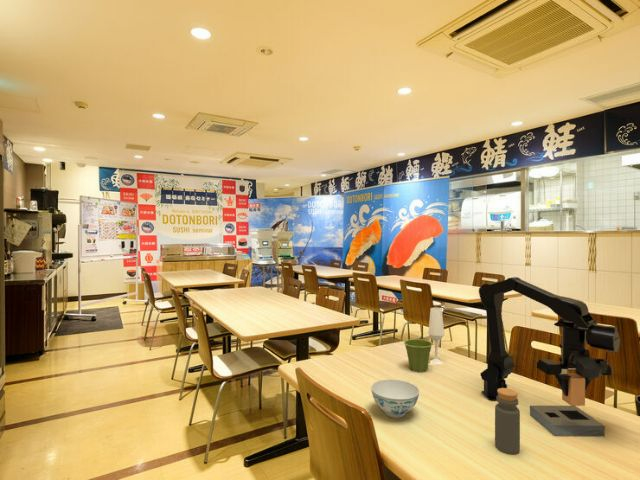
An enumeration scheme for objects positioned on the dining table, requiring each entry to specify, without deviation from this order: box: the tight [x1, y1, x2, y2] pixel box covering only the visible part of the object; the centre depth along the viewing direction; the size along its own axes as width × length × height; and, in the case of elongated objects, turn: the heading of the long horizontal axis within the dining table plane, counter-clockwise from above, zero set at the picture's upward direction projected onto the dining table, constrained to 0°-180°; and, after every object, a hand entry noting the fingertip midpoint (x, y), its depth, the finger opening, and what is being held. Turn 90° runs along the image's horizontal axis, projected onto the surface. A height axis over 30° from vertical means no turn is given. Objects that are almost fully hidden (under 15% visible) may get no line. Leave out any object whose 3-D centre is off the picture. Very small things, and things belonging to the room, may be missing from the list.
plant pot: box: [403, 338, 434, 373], centre depth 152 cm, size 12×12×11 cm
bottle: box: [494, 387, 521, 455], centre depth 95 cm, size 6×6×15 cm
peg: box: [561, 372, 586, 407], centre depth 107 cm, size 4×4×8 cm
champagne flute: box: [427, 307, 445, 364], centre depth 160 cm, size 7×7×24 cm
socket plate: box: [529, 404, 606, 437], centre depth 107 cm, size 14×12×3 cm
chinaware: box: [370, 378, 420, 419], centre depth 115 cm, size 15×15×8 cm
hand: (573, 395), depth 107 cm, fingers closed on peg, 4 cm apart
